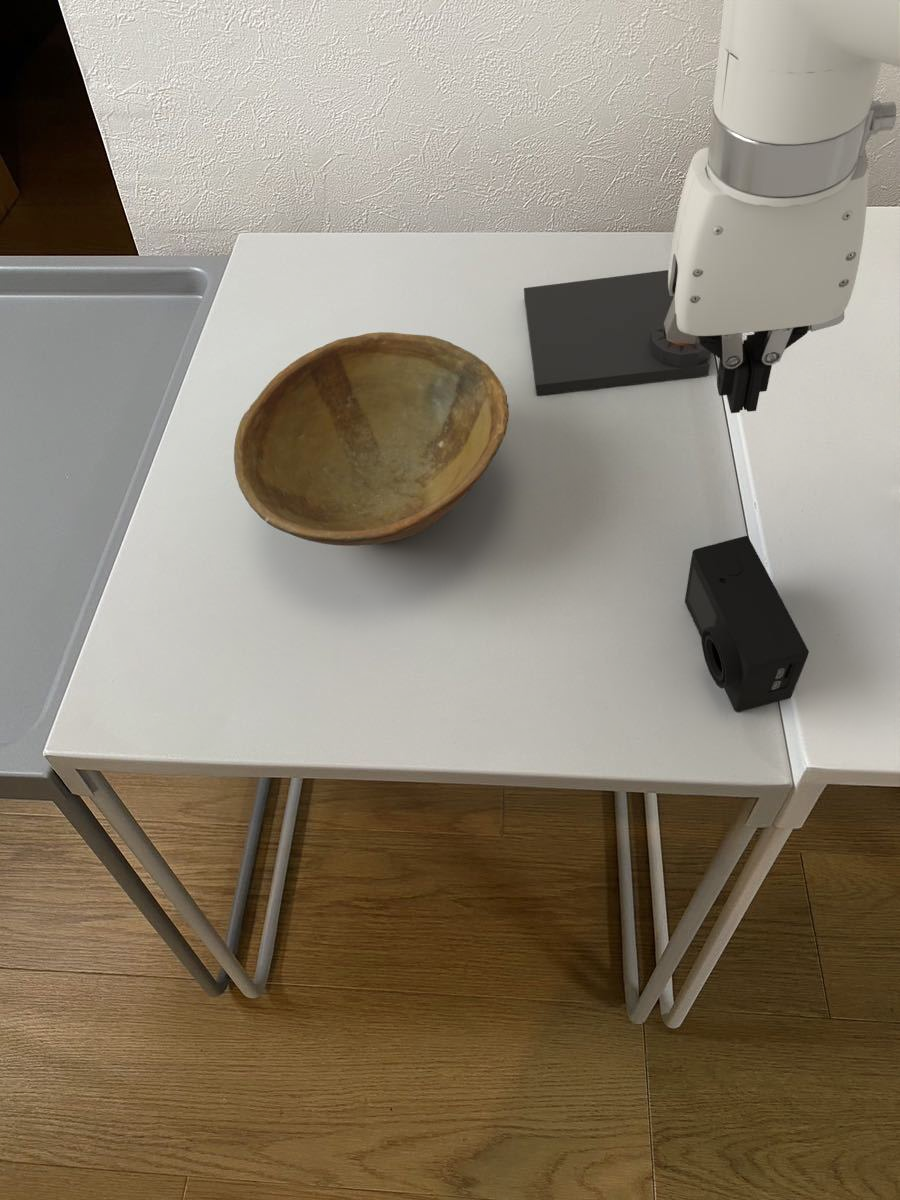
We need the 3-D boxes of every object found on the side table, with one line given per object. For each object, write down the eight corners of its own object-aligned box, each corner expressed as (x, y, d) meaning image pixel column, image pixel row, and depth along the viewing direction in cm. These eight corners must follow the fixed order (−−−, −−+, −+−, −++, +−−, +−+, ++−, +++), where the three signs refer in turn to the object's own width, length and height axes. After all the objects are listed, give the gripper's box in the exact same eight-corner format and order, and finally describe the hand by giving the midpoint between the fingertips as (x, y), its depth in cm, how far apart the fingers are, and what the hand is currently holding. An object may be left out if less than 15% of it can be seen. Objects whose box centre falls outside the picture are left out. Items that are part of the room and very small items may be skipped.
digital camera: (668, 603, 74) (675, 551, 68) (734, 586, 74) (747, 532, 68) (719, 717, 68) (731, 671, 62) (790, 698, 68) (809, 650, 62)
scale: (691, 278, 94) (694, 252, 92) (718, 374, 86) (722, 350, 84) (524, 298, 95) (522, 274, 93) (536, 395, 88) (535, 372, 85)
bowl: (564, 529, 79) (562, 449, 71) (320, 651, 75) (288, 581, 67) (447, 378, 90) (433, 294, 82) (231, 476, 87) (194, 399, 79)
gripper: (915, 80, 49) (840, 348, 64) (629, 117, 51) (621, 370, 66) (959, 161, 45) (867, 427, 60) (646, 199, 47) (633, 449, 62)
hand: (739, 397), depth 63 cm, fingers closed
